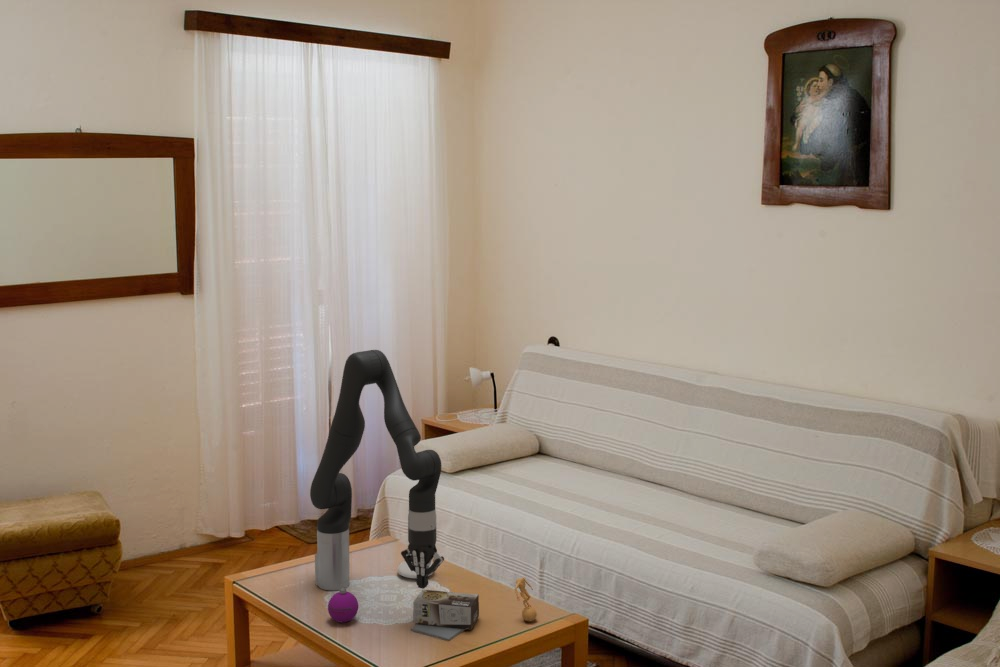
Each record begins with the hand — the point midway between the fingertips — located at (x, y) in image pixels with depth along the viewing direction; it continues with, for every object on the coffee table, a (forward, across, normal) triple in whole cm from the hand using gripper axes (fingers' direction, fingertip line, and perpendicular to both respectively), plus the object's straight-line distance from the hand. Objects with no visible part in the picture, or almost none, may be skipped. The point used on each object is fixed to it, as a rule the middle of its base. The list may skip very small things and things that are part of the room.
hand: (422, 587), depth 269 cm
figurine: (+10, +23, +16) cm, 30 cm away
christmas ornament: (+10, -19, -10) cm, 24 cm away
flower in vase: (+10, -20, +27) cm, 35 cm away
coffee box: (+6, -3, +1) cm, 7 cm away
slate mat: (+10, +6, 0) cm, 12 cm away
